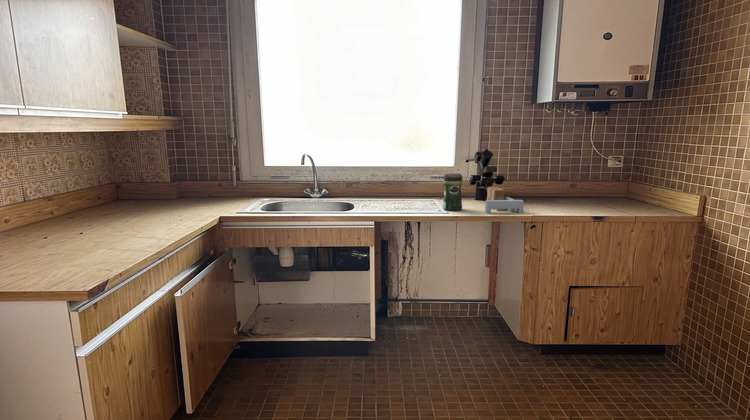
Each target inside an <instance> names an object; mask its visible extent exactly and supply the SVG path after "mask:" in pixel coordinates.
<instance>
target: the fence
mask: <svg viewBox="0 0 750 420" xmlns="http://www.w3.org/2000/svg"><path fill="white" fill-rule="evenodd" d="M524 204H525V202H524V200H522V199H514V198H512V197H510V196H504V200H485V209H484V213H485V214H492V210H494V209H505V211H508V212H510V213H515V210H516V212H517V213H518V214H524Z"/></svg>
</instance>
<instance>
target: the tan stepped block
mask: <svg viewBox="0 0 750 420" xmlns="http://www.w3.org/2000/svg"><path fill="white" fill-rule="evenodd" d="M487 200H505V189H503V188H500V187H498V186H491V187H488V188H487ZM494 210H495V211H496V212H505V211H506V209H493V211H494Z"/></svg>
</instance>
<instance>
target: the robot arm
mask: <svg viewBox="0 0 750 420" xmlns="http://www.w3.org/2000/svg"><path fill="white" fill-rule="evenodd" d="M493 157H494V153H493V152H492V151H490V150H489V148H488V149H487V148H485V149H484V150H483V151H476V152H475V154H474V158H475V163H478V170H479V172H480V173H479V175H471V177H470V180H469V181H468V183H469V185H470V186H473V189H474V190H475V198H474V200H476V201H486V200H487V188H488V187H493V186H494V184H495V185H503V183H504V181H505V179H506V177H505V175H504V174H496V177H495V176H494V177H493V175H494V173H497V172H498V167H497V165H491V166H490V164H491V162H492V159H493ZM474 158H473V159H474Z"/></svg>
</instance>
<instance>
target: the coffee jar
mask: <svg viewBox="0 0 750 420" xmlns="http://www.w3.org/2000/svg"><path fill="white" fill-rule="evenodd" d="M442 182H443V186H444V192H443V202H442V209H443V210H444V211H448V212H449V211H450V212H451V211H452V212H453V211H454V212H455V211H460V210H462V209H463V204H462V203H463V201H462V200H463V199H462V185H463V175H462V174H461V173H445V174H444V175H443V181H442Z"/></svg>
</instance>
